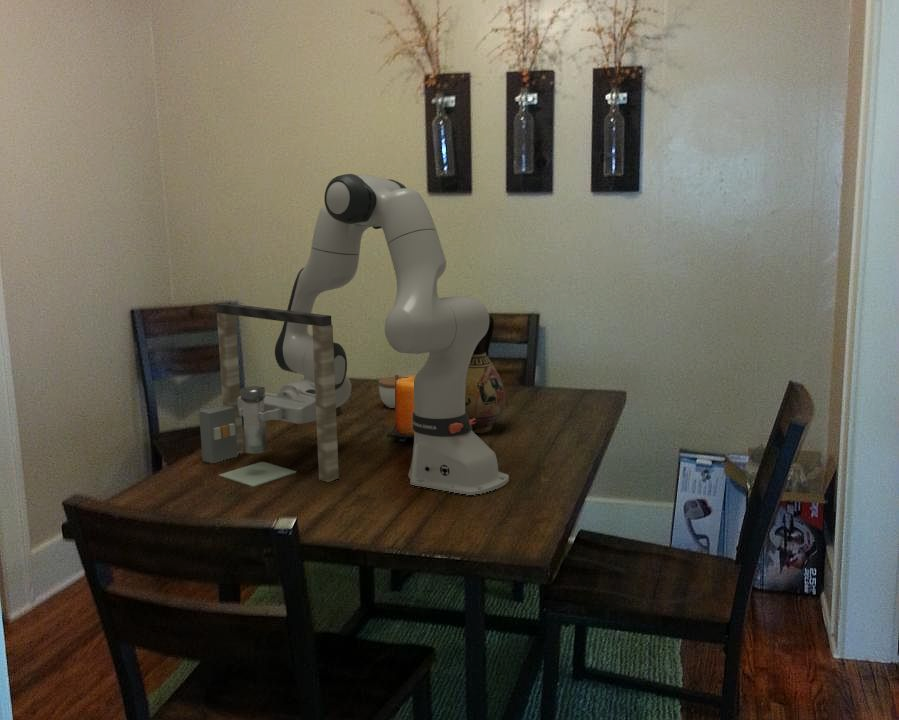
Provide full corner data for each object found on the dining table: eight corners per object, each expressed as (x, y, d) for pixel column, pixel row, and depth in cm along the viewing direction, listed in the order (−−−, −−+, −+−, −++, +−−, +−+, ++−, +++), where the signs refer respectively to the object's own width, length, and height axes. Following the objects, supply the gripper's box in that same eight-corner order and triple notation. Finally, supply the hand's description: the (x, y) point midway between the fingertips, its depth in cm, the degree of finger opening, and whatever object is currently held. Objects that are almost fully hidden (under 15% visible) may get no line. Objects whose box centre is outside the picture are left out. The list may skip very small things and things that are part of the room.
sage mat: (296, 472, 198) (296, 471, 198) (253, 486, 189) (253, 485, 189) (262, 462, 205) (262, 461, 205) (219, 475, 196) (218, 474, 196)
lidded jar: (393, 413, 249) (392, 380, 247) (371, 406, 257) (370, 374, 255) (423, 406, 255) (423, 374, 254) (401, 400, 264) (400, 369, 262)
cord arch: (338, 479, 193) (332, 315, 186) (328, 483, 191) (321, 317, 184) (236, 450, 215) (226, 303, 208) (225, 453, 213) (216, 304, 206)
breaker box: (239, 457, 210) (236, 408, 208) (214, 464, 205) (211, 414, 202) (227, 453, 213) (224, 405, 211) (202, 460, 208) (199, 411, 205)
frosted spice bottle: (272, 449, 197) (269, 388, 194) (253, 455, 193) (250, 393, 190) (257, 445, 200) (254, 385, 197) (238, 450, 196) (235, 389, 193)
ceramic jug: (482, 441, 220) (482, 321, 215) (434, 431, 230) (432, 316, 224) (520, 425, 234) (520, 313, 228) (472, 417, 243) (471, 308, 237)
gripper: (263, 383, 210) (217, 394, 199) (327, 394, 199) (283, 407, 188) (264, 408, 212) (219, 421, 200) (328, 421, 200) (284, 436, 189)
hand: (250, 415), depth 194 cm, fingers closed on frosted spice bottle, 5 cm apart
